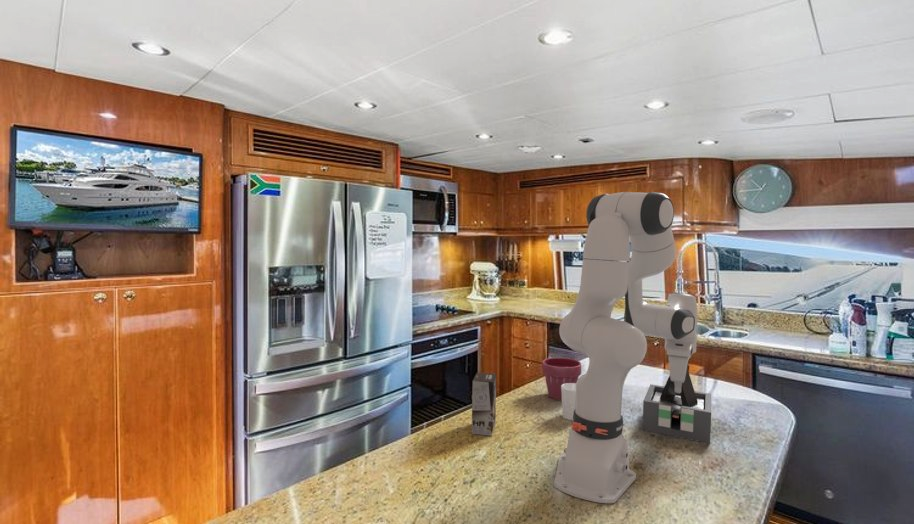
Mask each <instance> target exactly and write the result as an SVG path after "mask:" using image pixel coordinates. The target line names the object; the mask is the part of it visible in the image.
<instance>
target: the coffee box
mask: <svg viewBox="0 0 914 524" xmlns="http://www.w3.org/2000/svg"><path fill="white" fill-rule="evenodd" d="M471 387H472V388H471V389H472V394H471V395H472V396H471V397H472V400H471V403H472V404H471V434H472V435H481V436H482V435H483V436H488V437H489V436H493V433H494V430H495V427H496V421H497V420H496V419H497V418H496V417H497V416H496V415H497V411H496V410H497V373H494V372H492V373H491V372H476V373H475V375H474V378H473V379H472V386H471Z"/></svg>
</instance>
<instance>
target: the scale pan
mask: <svg viewBox="0 0 914 524" xmlns="http://www.w3.org/2000/svg"><path fill="white" fill-rule="evenodd" d="M661 394H662V392H658V391H656V393H655V395H654V398H653V401H657V402H663V403H669V402H666V401H663V400H660V396H661ZM675 396H676V397H680V398H681V396H680V395H677V394H675ZM697 401H698V404H695V405H693V406H691V407H692V408H698V409H704V399H702V398H697ZM669 404H672V412H673V415H674V416H679V414H681V406H679V405H676V404H674V403H669Z"/></svg>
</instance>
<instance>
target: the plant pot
mask: <svg viewBox="0 0 914 524" xmlns="http://www.w3.org/2000/svg"><path fill="white" fill-rule="evenodd" d="M541 363H542V364H541V365H542V366H541V370H542V373H544V377H545V383H546V384H545V385H546V388H547V393H548V396H549V397H550V398H551V399H552V400H553V399H554V400H557V401H562V395H561V385H562V384H565V383H576V382H577V380H578V379H579V378H580V377H579V376H582V362H580V361H579V360H578V359H573V358H569V357H549V358H545V359H543V360H542V362H541Z"/></svg>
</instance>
